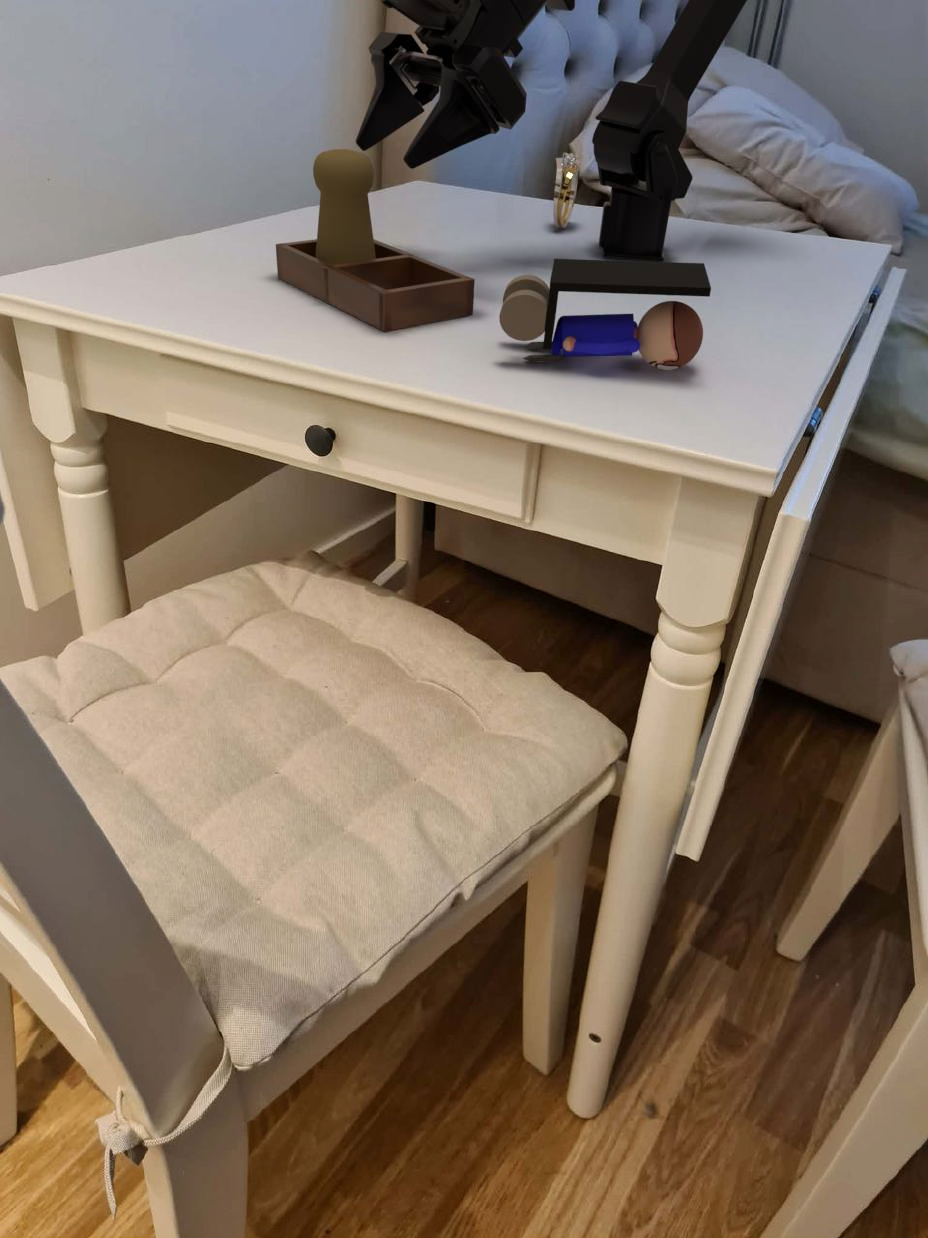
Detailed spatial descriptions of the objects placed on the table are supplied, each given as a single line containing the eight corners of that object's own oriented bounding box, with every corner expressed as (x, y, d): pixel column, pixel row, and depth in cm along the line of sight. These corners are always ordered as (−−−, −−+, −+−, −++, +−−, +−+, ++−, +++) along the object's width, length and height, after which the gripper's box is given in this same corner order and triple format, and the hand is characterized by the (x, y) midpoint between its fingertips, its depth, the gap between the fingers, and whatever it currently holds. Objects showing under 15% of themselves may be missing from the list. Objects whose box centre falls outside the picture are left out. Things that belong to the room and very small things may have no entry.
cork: (392, 283, 82) (393, 151, 76) (351, 297, 78) (348, 158, 72) (341, 271, 85) (337, 142, 79) (299, 284, 81) (292, 149, 74)
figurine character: (500, 387, 66) (704, 382, 65) (495, 282, 62) (715, 274, 60) (506, 357, 72) (695, 352, 70) (502, 259, 68) (704, 251, 66)
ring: (565, 235, 102) (574, 158, 98) (539, 231, 103) (547, 154, 99) (582, 224, 108) (591, 150, 103) (557, 220, 109) (565, 147, 104)
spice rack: (361, 266, 87) (361, 233, 85) (473, 314, 76) (475, 278, 74) (277, 277, 82) (275, 243, 80) (383, 331, 71) (383, 293, 69)
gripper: (389, -82, 76) (276, 66, 78) (508, -86, 63) (370, 91, 65) (462, 31, 84) (358, 163, 86) (580, 47, 72) (456, 202, 73)
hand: (382, 155), depth 77 cm, fingers open, 9 cm apart
